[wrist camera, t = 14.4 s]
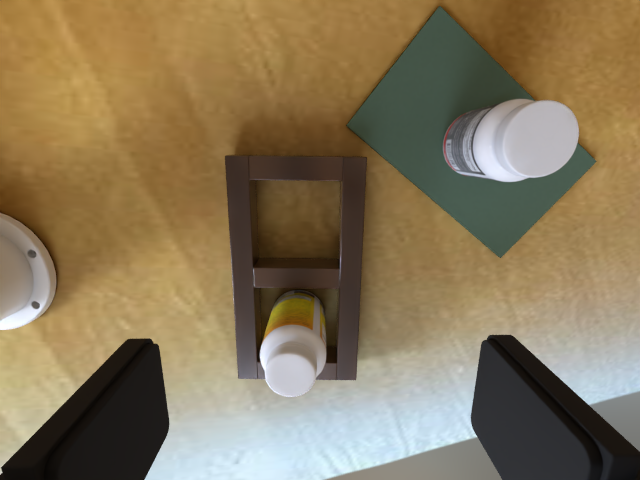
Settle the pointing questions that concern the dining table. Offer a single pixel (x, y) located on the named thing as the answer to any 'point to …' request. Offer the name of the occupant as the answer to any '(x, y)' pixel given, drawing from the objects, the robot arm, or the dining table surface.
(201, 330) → the dining table surface
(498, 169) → the pill bottle
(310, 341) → the supplement bottle
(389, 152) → the mat
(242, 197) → the rack
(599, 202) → the dining table surface
